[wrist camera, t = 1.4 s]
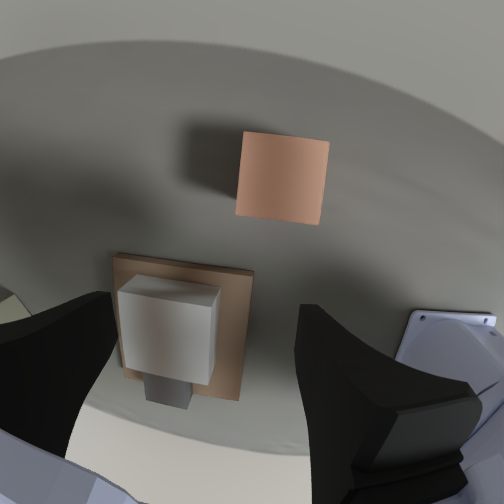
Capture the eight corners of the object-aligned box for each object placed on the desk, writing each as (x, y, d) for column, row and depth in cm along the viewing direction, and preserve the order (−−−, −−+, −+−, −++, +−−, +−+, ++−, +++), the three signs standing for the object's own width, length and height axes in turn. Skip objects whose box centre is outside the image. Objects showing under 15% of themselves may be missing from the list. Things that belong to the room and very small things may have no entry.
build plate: (254, 271, 20) (248, 296, 17) (240, 393, 24) (233, 427, 20) (118, 252, 21) (90, 270, 17) (129, 370, 24) (110, 398, 20)
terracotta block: (316, 148, 18) (329, 141, 13) (308, 210, 19) (318, 225, 14) (252, 140, 18) (243, 131, 13) (245, 202, 19) (235, 214, 15)
